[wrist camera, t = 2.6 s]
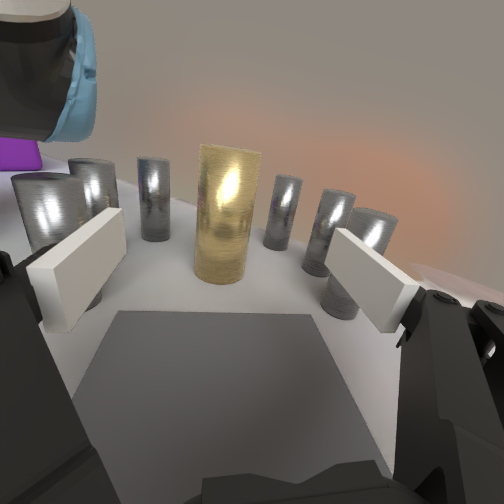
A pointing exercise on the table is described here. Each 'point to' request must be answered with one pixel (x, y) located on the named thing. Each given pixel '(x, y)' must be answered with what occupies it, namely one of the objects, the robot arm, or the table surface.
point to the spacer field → (158, 215)
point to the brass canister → (224, 211)
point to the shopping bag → (19, 155)
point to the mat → (216, 403)
